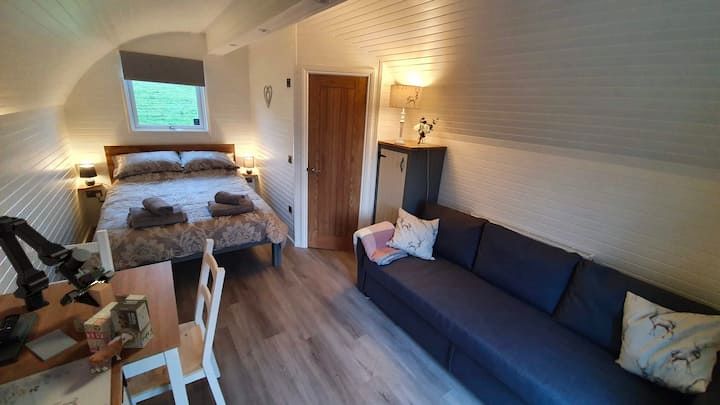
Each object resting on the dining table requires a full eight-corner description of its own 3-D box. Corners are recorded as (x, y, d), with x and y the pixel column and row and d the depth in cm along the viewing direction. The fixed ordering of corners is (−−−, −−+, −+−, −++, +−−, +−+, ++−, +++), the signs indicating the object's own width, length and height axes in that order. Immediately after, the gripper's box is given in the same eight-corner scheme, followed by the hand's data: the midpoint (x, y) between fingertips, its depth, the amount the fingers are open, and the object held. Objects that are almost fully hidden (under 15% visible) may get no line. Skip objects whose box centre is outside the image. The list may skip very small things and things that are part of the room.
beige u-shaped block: (76, 331, 116) (73, 321, 115) (119, 302, 134) (117, 293, 132) (96, 334, 115) (94, 324, 114) (137, 305, 133) (135, 296, 131)
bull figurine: (137, 350, 110) (133, 331, 107) (95, 379, 97) (90, 358, 95) (128, 346, 111) (124, 327, 108) (86, 375, 99) (80, 354, 96)
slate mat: (25, 345, 108) (25, 344, 108) (58, 330, 116) (58, 329, 116) (44, 361, 103) (44, 359, 103) (78, 343, 111) (77, 342, 110)
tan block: (94, 319, 122) (87, 289, 118) (105, 312, 127) (100, 282, 123) (105, 321, 122) (99, 291, 118) (116, 314, 127) (111, 284, 123)
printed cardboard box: (134, 313, 128) (129, 287, 124) (149, 314, 128) (144, 288, 124) (89, 353, 107) (82, 323, 104) (107, 354, 107) (101, 324, 104)
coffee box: (154, 336, 116) (148, 299, 112) (143, 348, 110) (136, 310, 106) (129, 335, 116) (122, 298, 111) (116, 348, 110) (108, 309, 105)
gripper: (59, 275, 109) (92, 306, 111) (107, 252, 127) (135, 279, 129) (45, 291, 112) (78, 321, 114) (94, 267, 130) (122, 293, 132)
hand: (105, 302), depth 122 cm, fingers closed on tan block, 5 cm apart
